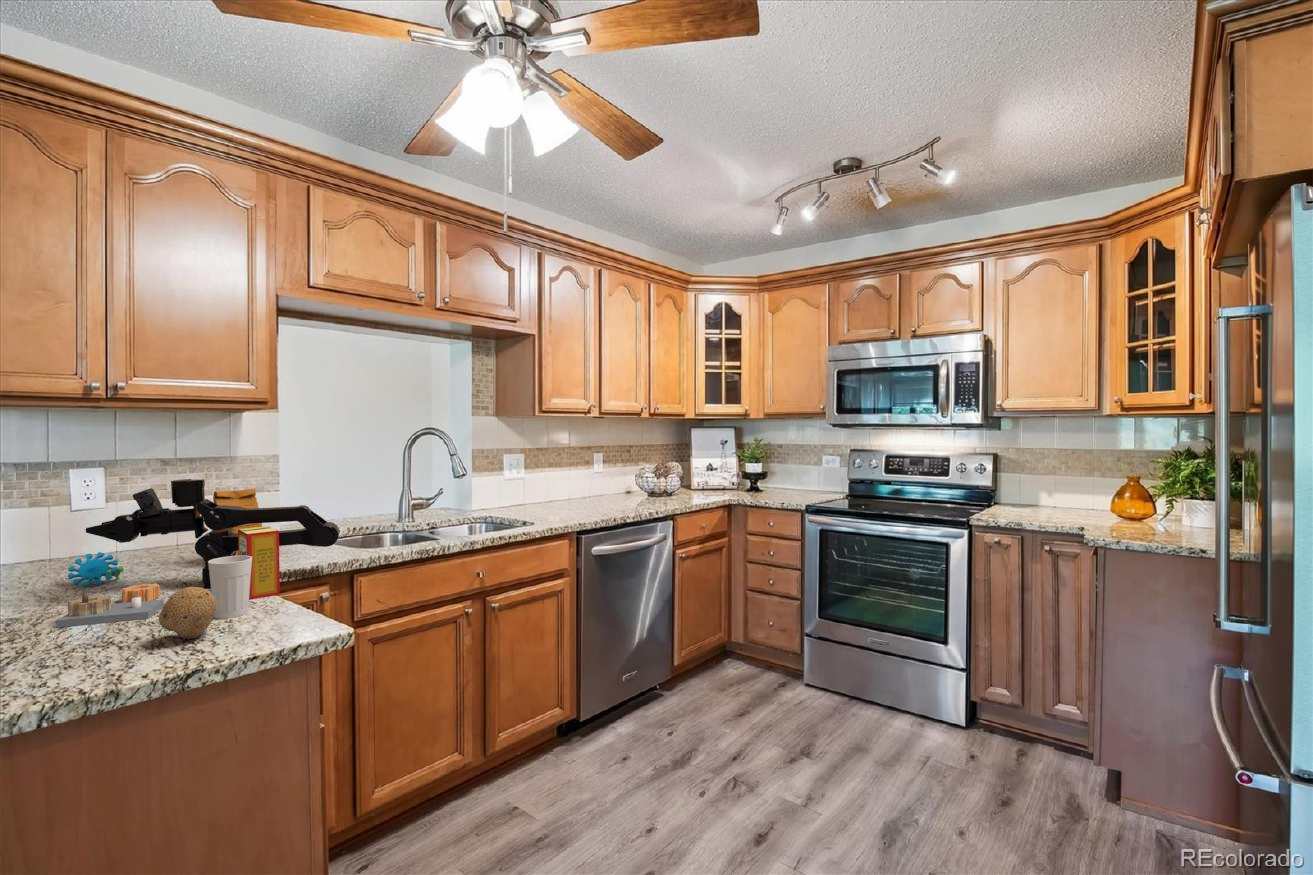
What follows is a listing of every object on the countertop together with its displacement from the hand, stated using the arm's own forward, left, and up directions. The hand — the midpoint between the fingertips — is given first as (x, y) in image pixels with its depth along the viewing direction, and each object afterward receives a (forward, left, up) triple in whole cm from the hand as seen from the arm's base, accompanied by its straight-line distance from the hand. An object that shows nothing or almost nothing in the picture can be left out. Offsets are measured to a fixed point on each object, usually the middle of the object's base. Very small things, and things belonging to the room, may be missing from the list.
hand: (94, 527), depth 151 cm
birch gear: (-6, +22, -15) cm, 27 cm away
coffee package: (-24, -26, -17) cm, 40 cm away
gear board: (-10, +22, -16) cm, 29 cm away
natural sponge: (-29, +45, -17) cm, 56 cm away
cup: (-33, +30, -17) cm, 48 cm away
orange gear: (-11, +9, -16) cm, 22 cm away
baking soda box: (-36, +13, -17) cm, 42 cm away
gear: (+5, -14, -17) cm, 23 cm away
